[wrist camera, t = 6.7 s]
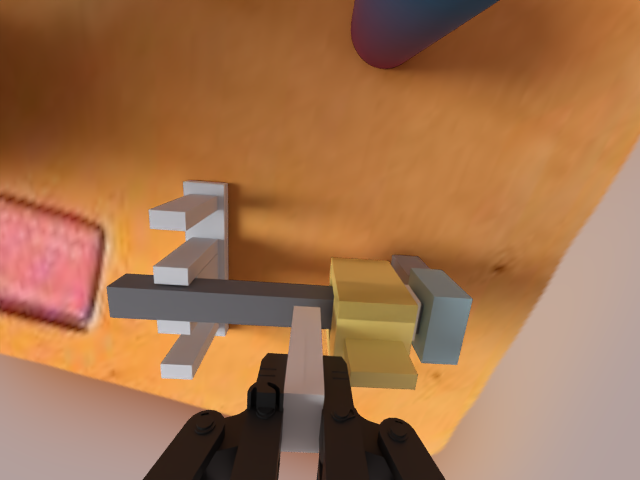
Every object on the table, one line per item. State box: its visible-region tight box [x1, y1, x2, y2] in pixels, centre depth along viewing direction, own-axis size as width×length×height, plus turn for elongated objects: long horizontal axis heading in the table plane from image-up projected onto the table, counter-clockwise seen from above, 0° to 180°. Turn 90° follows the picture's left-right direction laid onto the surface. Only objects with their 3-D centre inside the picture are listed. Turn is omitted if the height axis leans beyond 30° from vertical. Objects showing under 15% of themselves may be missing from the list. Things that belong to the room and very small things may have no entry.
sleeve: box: [326, 257, 418, 390], centre depth 18 cm, size 4×5×9 cm
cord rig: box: [107, 180, 473, 379], centre depth 22 cm, size 21×13×9 cm, turn 86°
